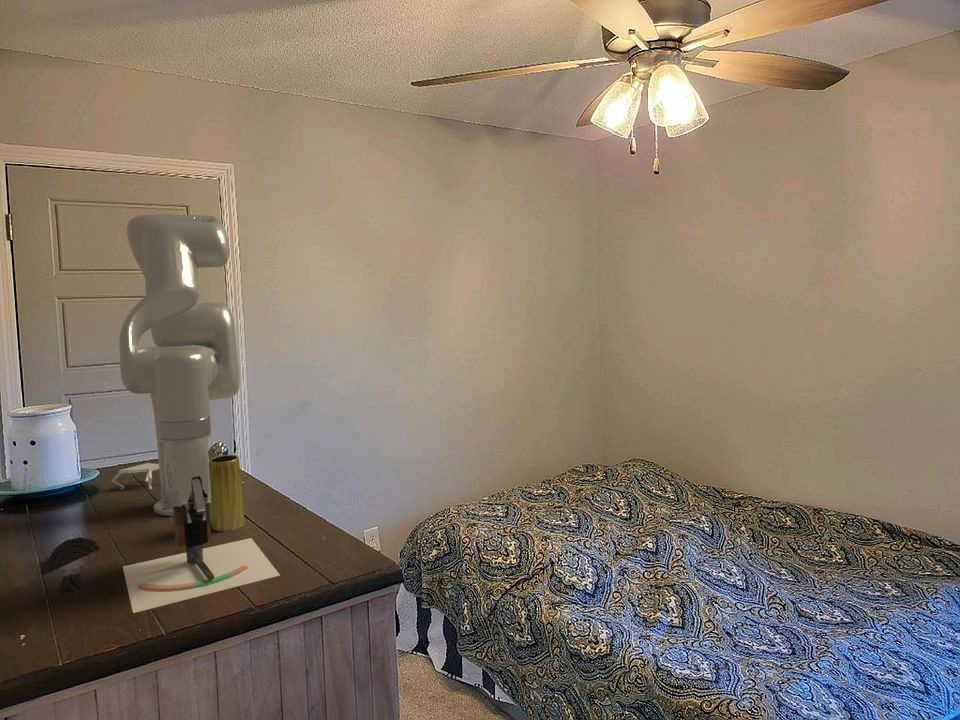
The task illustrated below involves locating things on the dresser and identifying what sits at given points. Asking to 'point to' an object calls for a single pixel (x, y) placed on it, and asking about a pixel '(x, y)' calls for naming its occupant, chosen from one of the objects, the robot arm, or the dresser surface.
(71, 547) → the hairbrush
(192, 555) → the tuner needle gauge
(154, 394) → the robot arm
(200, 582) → the board
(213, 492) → the vase
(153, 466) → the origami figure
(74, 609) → the dresser surface
